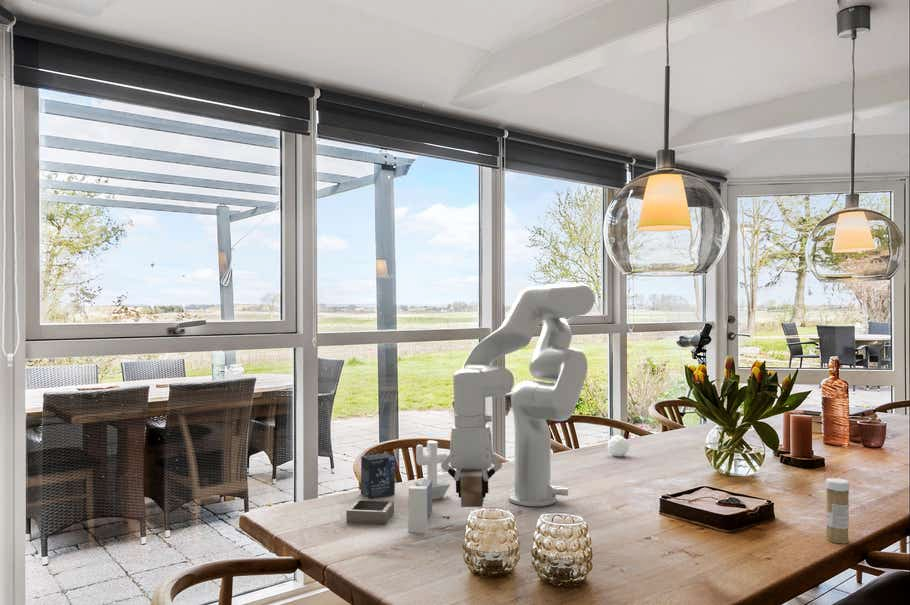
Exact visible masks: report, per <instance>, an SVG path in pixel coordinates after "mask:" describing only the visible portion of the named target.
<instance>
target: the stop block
mask: <svg viewBox="0 0 910 605" xmlns="http://www.w3.org/2000/svg"><path fill="white" fill-rule="evenodd" d="M482 479H483V476H482V472H481V470H480V469H462V470H461V472H460V485H461V498H460V507H461V508H482V507H483V506H484V505H483V504H484V500H485V498H483V497H482Z"/></svg>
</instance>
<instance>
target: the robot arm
mask: <svg viewBox="0 0 910 605" xmlns="http://www.w3.org/2000/svg"><path fill="white" fill-rule="evenodd" d="M595 297H596V296H595V292H594V290H593V289H592V288H591V287H590V286H589V285H588V284H586V283H549V284H545V285H543V286H528V287H525V288H524V289H522V290H521V291H520V292H519V293H518V295H517V297H516V299H515V301H514V303H513V304H512V306H511V308H510V309H509V311H508V313H507V315H506V317H505V318H504V320H503V322H502V324H501V325H500V327H499V328H498V329H496V330H495V331H493V332H492V333H490V334H489V335H487V336H486V337H485V338H483V339H482V340H481V341H479V342H478V343H477V344H476V345H475V346H474V347H473V348H472V350H471V351H470V352H469V354H468V356H467V357H466V359H465V361H464V363H463V365H462V367H461V369H458V370H456V371H455V372H454V373H453V378H452V380H453V381H452V382H453V384H452V385H453V408H454V409H453V412H454V414H453V416H454V425H452V426H451V431H450V433H451V434H450V439H449V440H450V441H449V443H450V444H449V454H447V456H448V457H447V458H446V459H445V460H444V462H443V463H442V465H441V464H440V468H441V467H442V468H443V469H444V470H445V471H447V472H446V473H448V474H449V475H450V476H451V477H452V479H454V481H455V493H456V494H458V498H460V499H461V485H460V472H461V470H462V469H480V470H481V472H482V476H483V479H482V497H483V498H484V499H485V498H486V495H487V494H489V480H490V478H492V477H493V475H494V474H495V473H497V472H498V471H499V470H500V469H502V468H503V463H502V462H501V461H500V460H499V458H497V456H496V455H495V454H494V452H493V441H492V439H493V438H492V433H491V427H490V425H489V424H488V423H490V422H492V420H493V416H492V415H488V414H487V412H486V411H487V410H486V398H498V397H504V396H506V395H508V394H509V393H510V392H511V394H510V403H511V404H510V405H511V409H512V414H513V415H512V416H513V422H514V490H513V491H512V492H510V493H509V494H508V500H509V502H511V503H513V504H515V505H518V506H523V507H547V506H550V505H554V504H555V503H556V502H557V496H566V497H567V496H569V488H568V487H563V486H555V485H554V484H553V483H552V482H553V481H552V479H551V473H552V472H551V470H552V469H551V467H552V465H551V463H552V462H551V461H552V460H551V458H552V457H551V456H552V454H551V450H552V449H551V446H552V445H551V444H552V442H551V441H552V437H551V430H550V427H549V425H548V423H547V420H548V421H555V422H563V421H567V420H568V419H570V418H571V417H572V415H573V414H574V411H575V408H576V406H577V404H578V401H579V398H580V395H581V392H582V391H583V387H584V384H585V381H586V379H587V375H588V360H587V357H586V355H585V353H584V352H583V351H582V350H581V349H579V348H576V347H570V345H571V342H572V340H573V339H572V337H573V333H572V329H571V326H570V325H569V323H568V321H567V319H570V318H574V317H580V316H583V315H587V314H589V312H590V311H592V309H593V307H594V305H595V302H596V301H595V300H596V298H595ZM540 323H541V326H542V327H541V332H540V336H539V337H538V341H537V344H536V346H535V349H534V350H533V354H532V356H531V359H530V362H529V366H528V367H529V373H530V375H531V376H532V377H533V378H535V379H536V381H535V380H524V381H521V382H518V383H517V384H516V385H515V386H514V384H515V378H514V375H513V373H512V372H511V370H510V369H508V368H506V367H505V366H501V365H492V363H494V362H495V361H496V360H497V359H500V358H501V357H504V356H506V355H509V354H512V353H514V352H517V351H519V350H522V349H523V348H525V347H527V346H529V344H530V343H531V341H532V339H533V337H534V335H535V333H536V331H537V329H538V327H539V326H540ZM538 380H540V381H538ZM553 382H554V383H553ZM492 464H494V465H493V467H492ZM455 469H456V470H455ZM488 469H489V470H488Z"/></svg>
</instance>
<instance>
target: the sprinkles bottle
mask: <svg viewBox="0 0 910 605" xmlns="http://www.w3.org/2000/svg"><path fill="white" fill-rule="evenodd" d="M825 488H826V510H825V511H826V514H825V515H826V516H825V517H826V518H825V520H826V521H825V524H826V533H825V534H826V535H825V538H826V540H828V541H829V542H832V543H836V544H847V543H848V544H849V542H850V540H849V525H850V522H849V521H850V519H849V518H850V515H849V514H850V504H849V502H850V501H849V493H850V492H849V491H850V490H851V489H850V481H848V480H846V479H842V478H839V477H838V478H836V477H829V478H826V480H825Z"/></svg>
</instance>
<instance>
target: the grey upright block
mask: <svg viewBox="0 0 910 605" xmlns="http://www.w3.org/2000/svg"><path fill="white" fill-rule="evenodd" d="M423 480H424V481H423ZM423 480H422V481H423V482H422V484H421V485H420V486H416V485H410V486H409V487H408V503H407V504H408V526H407V527H408V530H407V531H408V533H419V534H420V533H421V534H424V533H425V534H426V533H427V532H428V521H429V519H430V516H431V514H432V513H433V499H432V480H431V479H427V478H425V479H423Z"/></svg>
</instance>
